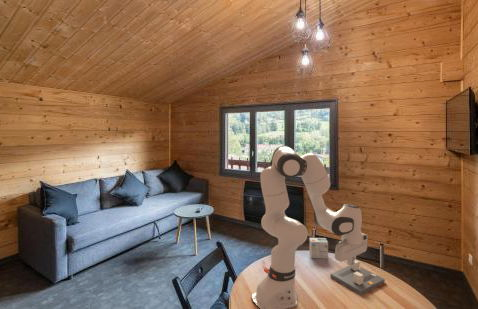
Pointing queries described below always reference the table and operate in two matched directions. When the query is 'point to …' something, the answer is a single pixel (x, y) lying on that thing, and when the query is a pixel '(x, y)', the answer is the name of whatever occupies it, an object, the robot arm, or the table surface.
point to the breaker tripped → (358, 278)
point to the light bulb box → (318, 248)
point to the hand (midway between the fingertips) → (350, 264)
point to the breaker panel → (346, 279)
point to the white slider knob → (355, 265)
